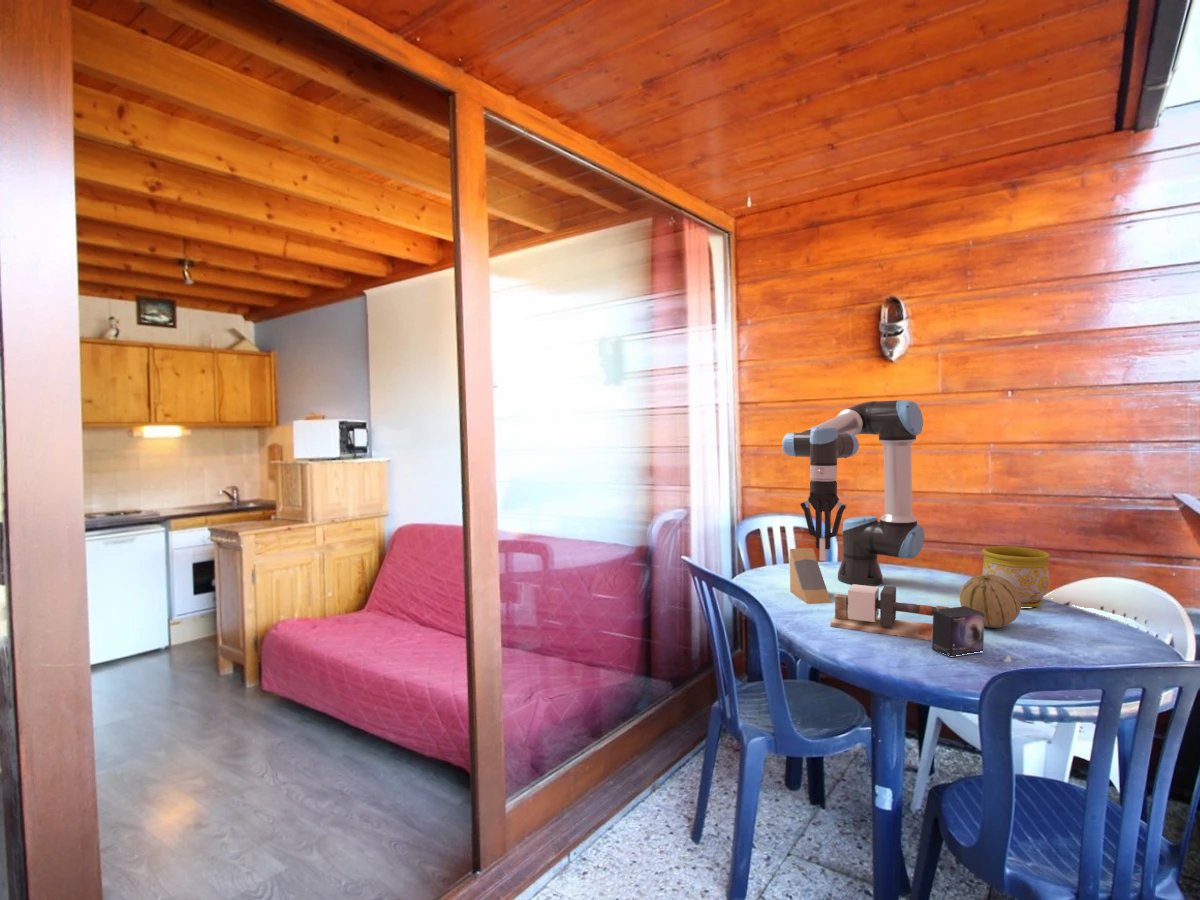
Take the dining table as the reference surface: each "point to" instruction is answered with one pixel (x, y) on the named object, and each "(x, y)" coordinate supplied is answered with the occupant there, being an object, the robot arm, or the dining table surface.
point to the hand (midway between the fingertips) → (823, 559)
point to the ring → (887, 606)
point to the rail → (897, 629)
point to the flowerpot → (1020, 570)
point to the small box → (958, 630)
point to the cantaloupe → (992, 599)
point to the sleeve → (863, 602)
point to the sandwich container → (807, 577)
